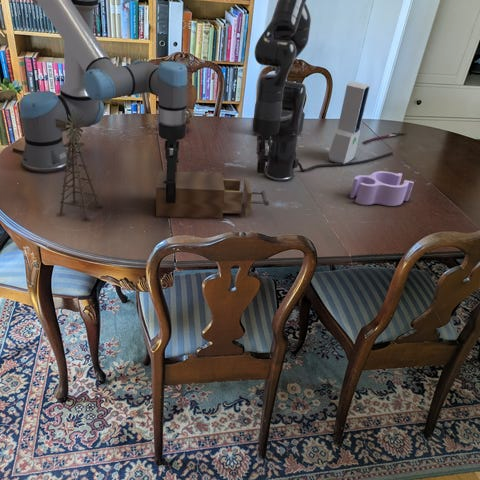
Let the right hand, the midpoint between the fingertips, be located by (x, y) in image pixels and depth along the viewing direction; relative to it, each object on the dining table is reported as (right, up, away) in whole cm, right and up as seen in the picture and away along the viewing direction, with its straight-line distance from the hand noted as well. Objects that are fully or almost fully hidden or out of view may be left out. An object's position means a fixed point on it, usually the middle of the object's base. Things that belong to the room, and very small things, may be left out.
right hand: (260, 172), depth 139 cm
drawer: (-10, -10, +5) cm, 15 cm away
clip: (+42, -6, +22) cm, 48 cm away
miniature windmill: (-53, -12, -3) cm, 54 cm away
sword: (+60, +26, +75) cm, 100 cm away
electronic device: (+35, +12, +49) cm, 61 cm away
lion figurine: (-33, +26, +60) cm, 73 cm away
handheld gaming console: (+10, +27, +67) cm, 73 cm away
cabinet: (-22, -10, +4) cm, 24 cm away
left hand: (-27, -6, +1) cm, 27 cm away
